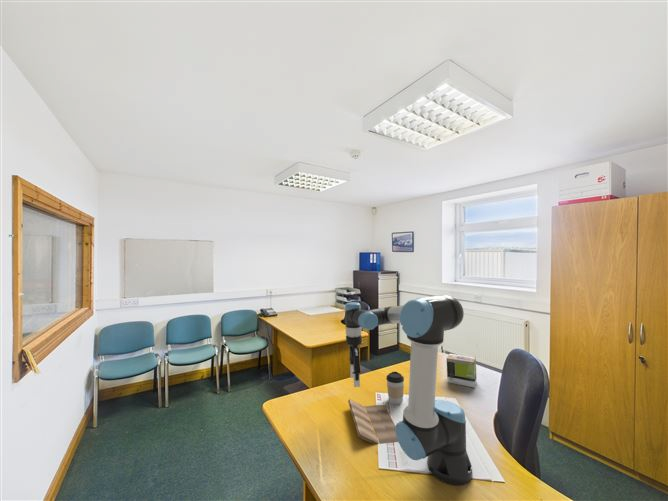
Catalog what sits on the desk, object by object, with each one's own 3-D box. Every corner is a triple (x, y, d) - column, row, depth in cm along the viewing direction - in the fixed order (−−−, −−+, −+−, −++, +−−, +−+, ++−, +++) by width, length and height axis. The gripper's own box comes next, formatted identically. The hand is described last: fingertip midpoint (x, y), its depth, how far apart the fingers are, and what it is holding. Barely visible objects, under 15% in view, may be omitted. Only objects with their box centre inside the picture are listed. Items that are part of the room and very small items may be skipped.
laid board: (403, 444, 118) (403, 441, 118) (379, 446, 117) (379, 443, 117) (384, 407, 146) (384, 404, 146) (365, 408, 145) (365, 406, 145)
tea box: (476, 381, 170) (476, 356, 170) (474, 388, 162) (474, 362, 162) (450, 376, 178) (449, 352, 178) (446, 382, 170) (446, 357, 170)
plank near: (377, 446, 117) (379, 443, 117) (358, 436, 116) (360, 433, 116) (369, 425, 130) (371, 423, 130) (352, 417, 129) (354, 414, 130)
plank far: (369, 425, 131) (371, 422, 131) (352, 416, 130) (354, 414, 130) (363, 408, 144) (364, 406, 144) (348, 401, 143) (349, 398, 143)
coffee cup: (405, 408, 144) (404, 378, 144) (386, 406, 146) (386, 377, 146) (404, 398, 153) (403, 371, 153) (387, 397, 155) (386, 370, 155)
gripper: (366, 341, 127) (367, 392, 127) (357, 328, 148) (358, 371, 148) (349, 342, 126) (351, 393, 126) (342, 329, 147) (344, 372, 147)
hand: (355, 381), depth 137 cm, fingers open, 9 cm apart
